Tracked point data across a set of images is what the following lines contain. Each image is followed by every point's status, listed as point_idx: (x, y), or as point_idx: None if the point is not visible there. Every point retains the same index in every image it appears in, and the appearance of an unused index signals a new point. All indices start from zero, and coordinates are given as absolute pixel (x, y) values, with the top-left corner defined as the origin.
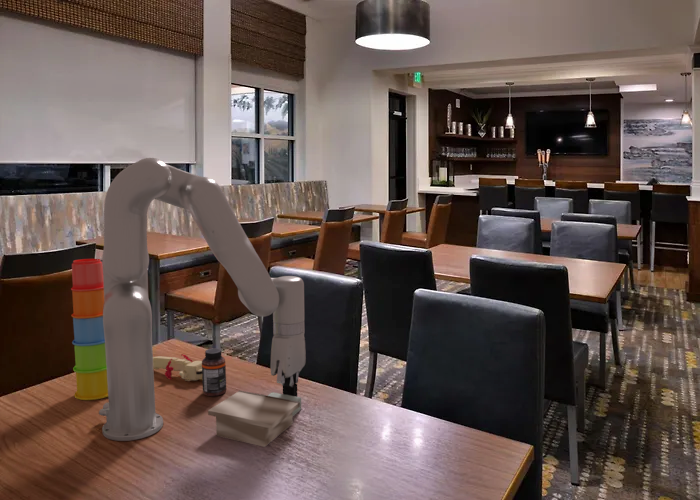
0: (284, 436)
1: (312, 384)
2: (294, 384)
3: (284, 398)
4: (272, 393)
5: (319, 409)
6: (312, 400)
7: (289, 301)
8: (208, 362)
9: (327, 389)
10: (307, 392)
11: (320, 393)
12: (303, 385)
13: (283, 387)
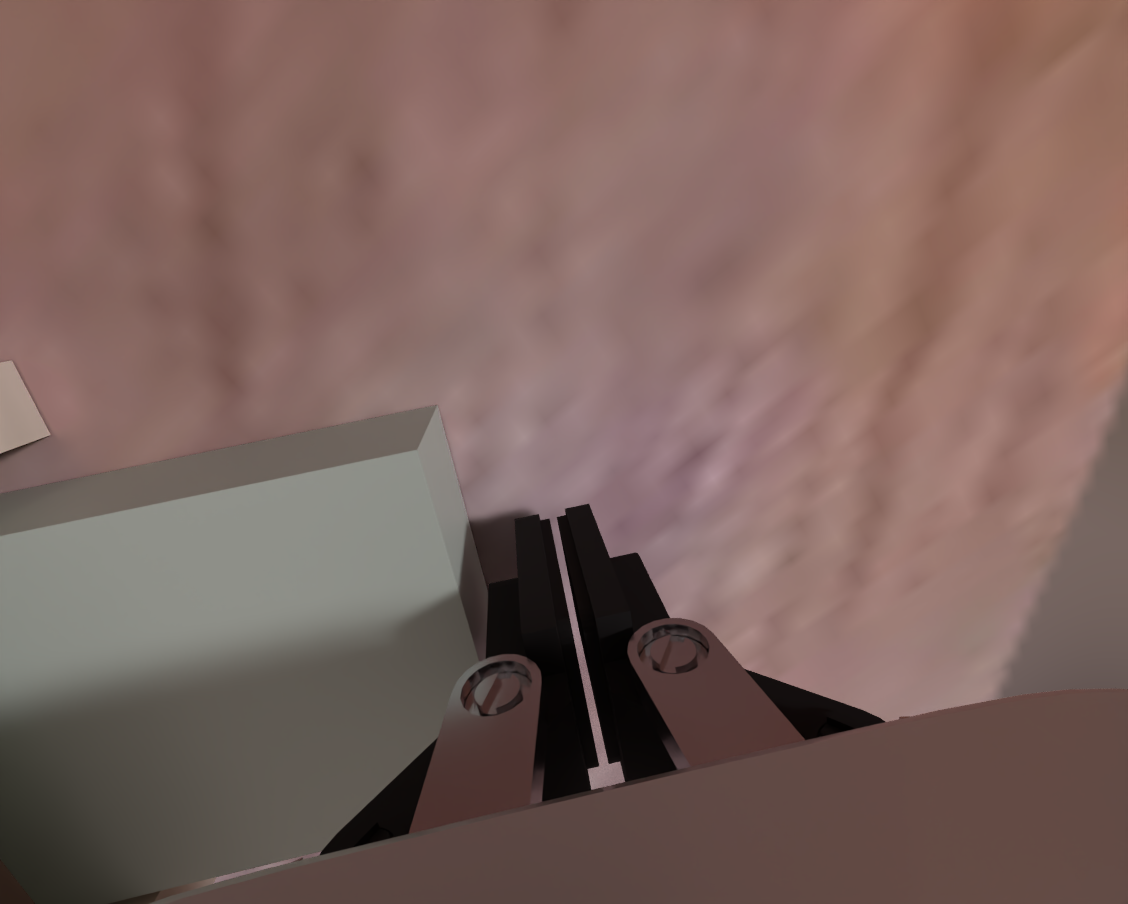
0: None
1: (1073, 416)
2: (620, 760)
3: (368, 705)
4: (386, 484)
5: (602, 785)
6: (727, 648)
7: None
8: None
9: (996, 599)
10: (869, 504)
11: (893, 607)
12: (1024, 353)
13: (521, 614)
